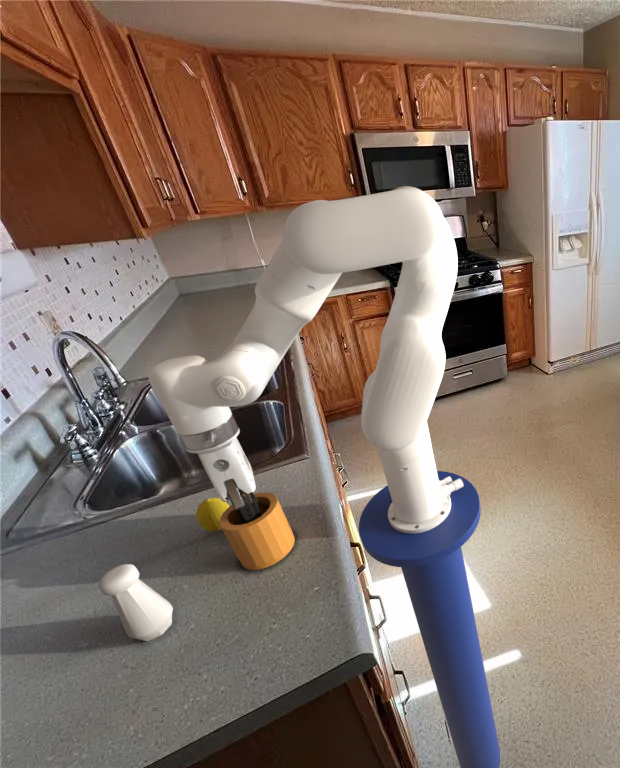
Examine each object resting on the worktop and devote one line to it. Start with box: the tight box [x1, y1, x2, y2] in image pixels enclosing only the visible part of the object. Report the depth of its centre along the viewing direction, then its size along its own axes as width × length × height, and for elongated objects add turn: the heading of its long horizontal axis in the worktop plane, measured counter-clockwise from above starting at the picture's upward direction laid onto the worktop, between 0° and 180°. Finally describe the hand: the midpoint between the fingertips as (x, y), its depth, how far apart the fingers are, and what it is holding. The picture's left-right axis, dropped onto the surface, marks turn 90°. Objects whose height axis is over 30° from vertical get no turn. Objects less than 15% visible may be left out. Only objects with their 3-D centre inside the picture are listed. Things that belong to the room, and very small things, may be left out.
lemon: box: [195, 497, 231, 533], centre depth 82 cm, size 6×6×8 cm
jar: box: [219, 491, 296, 571], centre depth 76 cm, size 9×9×10 cm
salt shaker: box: [97, 563, 174, 642], centre depth 63 cm, size 6×6×13 cm
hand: (251, 515), depth 75 cm, fingers closed
